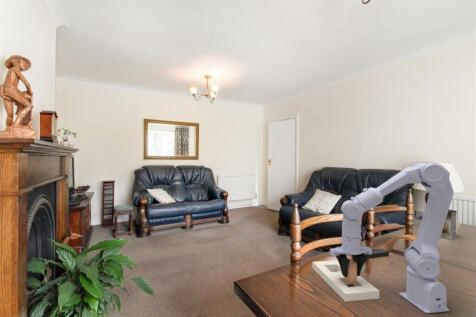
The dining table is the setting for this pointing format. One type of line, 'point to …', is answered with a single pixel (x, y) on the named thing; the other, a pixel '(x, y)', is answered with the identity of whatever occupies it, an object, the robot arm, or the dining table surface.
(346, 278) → the peg terracotta
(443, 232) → the coffee box
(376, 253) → the multiport hub
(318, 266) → the white flat block
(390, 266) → the dining table surface
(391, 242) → the arch
